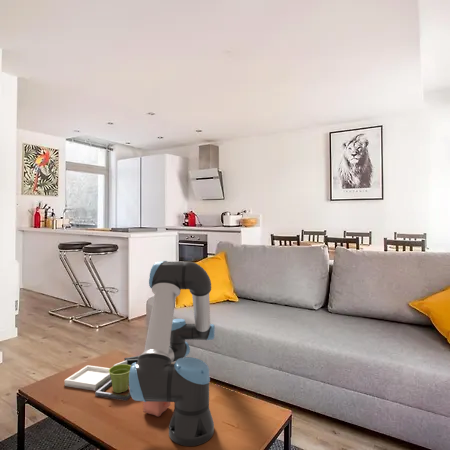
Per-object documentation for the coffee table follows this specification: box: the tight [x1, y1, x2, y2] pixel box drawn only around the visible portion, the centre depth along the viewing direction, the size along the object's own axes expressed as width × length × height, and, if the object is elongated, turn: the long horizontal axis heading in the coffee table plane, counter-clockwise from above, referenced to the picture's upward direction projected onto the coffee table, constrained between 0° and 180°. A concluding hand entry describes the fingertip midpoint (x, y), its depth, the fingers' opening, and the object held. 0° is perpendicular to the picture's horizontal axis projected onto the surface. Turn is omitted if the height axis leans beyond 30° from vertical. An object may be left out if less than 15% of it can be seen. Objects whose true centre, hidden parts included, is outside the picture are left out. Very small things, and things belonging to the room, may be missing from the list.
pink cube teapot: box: [142, 401, 172, 417], centre depth 122 cm, size 8×12×8 cm, turn 66°
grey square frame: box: [94, 379, 132, 402], centre depth 137 cm, size 14×14×2 cm
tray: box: [64, 364, 111, 392], centre depth 145 cm, size 15×15×2 cm
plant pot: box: [109, 364, 131, 394], centre depth 137 cm, size 9×9×9 cm
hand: (122, 373), depth 138 cm, fingers open, 13 cm apart
